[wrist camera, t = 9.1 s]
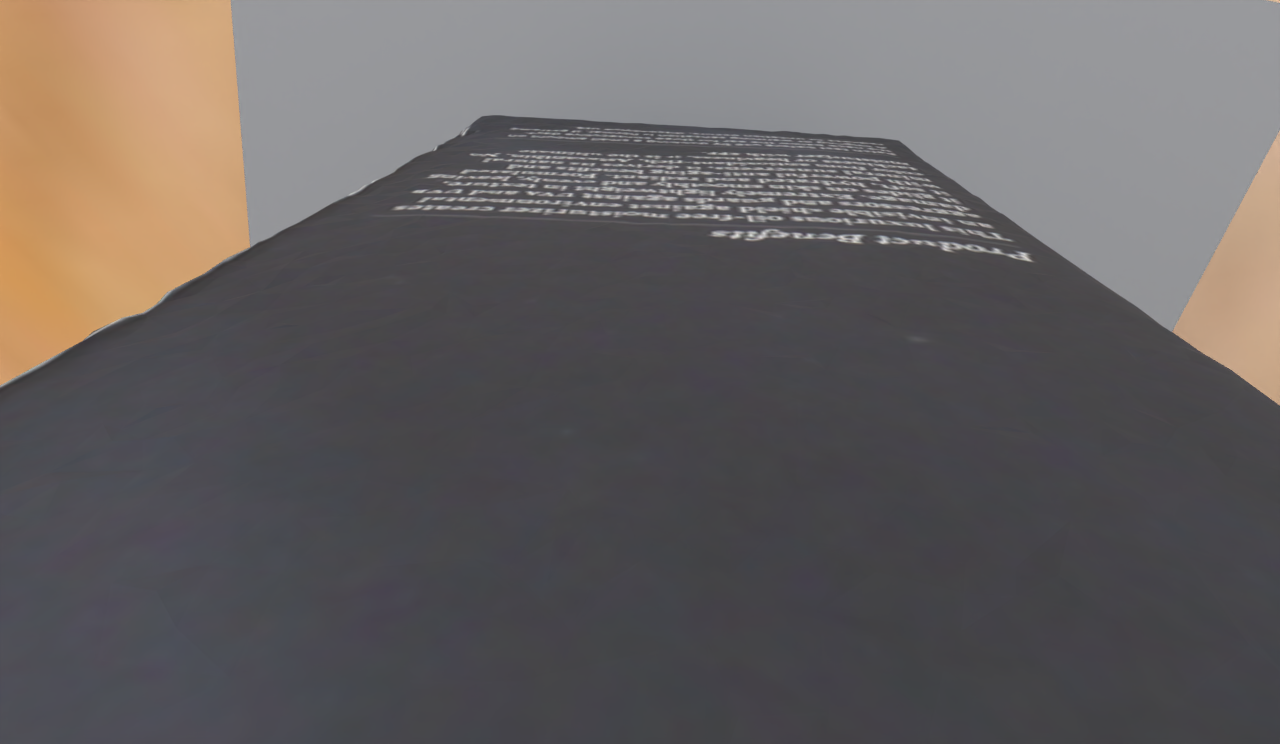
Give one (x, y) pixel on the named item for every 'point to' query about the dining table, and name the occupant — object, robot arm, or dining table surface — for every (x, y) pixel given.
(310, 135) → the stand
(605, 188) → the small box
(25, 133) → the dining table surface
